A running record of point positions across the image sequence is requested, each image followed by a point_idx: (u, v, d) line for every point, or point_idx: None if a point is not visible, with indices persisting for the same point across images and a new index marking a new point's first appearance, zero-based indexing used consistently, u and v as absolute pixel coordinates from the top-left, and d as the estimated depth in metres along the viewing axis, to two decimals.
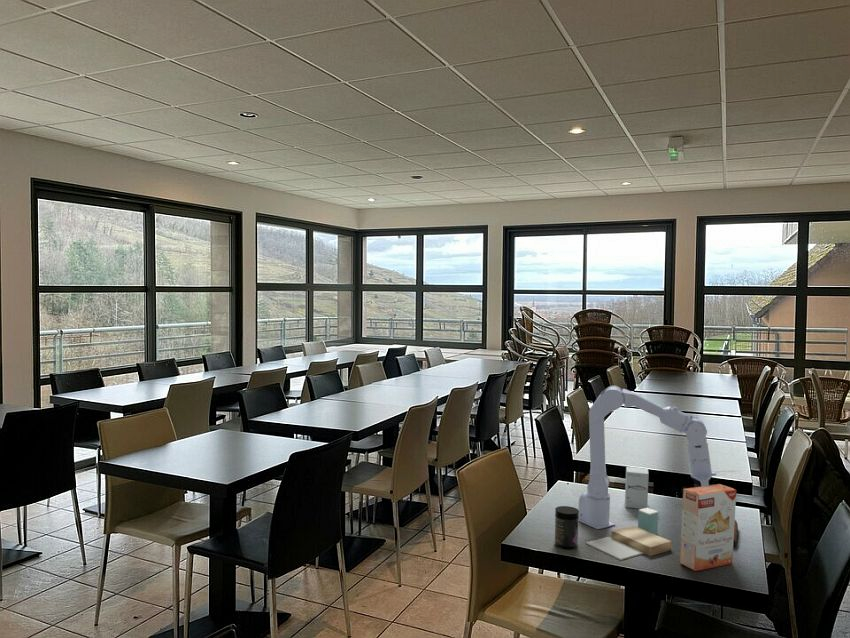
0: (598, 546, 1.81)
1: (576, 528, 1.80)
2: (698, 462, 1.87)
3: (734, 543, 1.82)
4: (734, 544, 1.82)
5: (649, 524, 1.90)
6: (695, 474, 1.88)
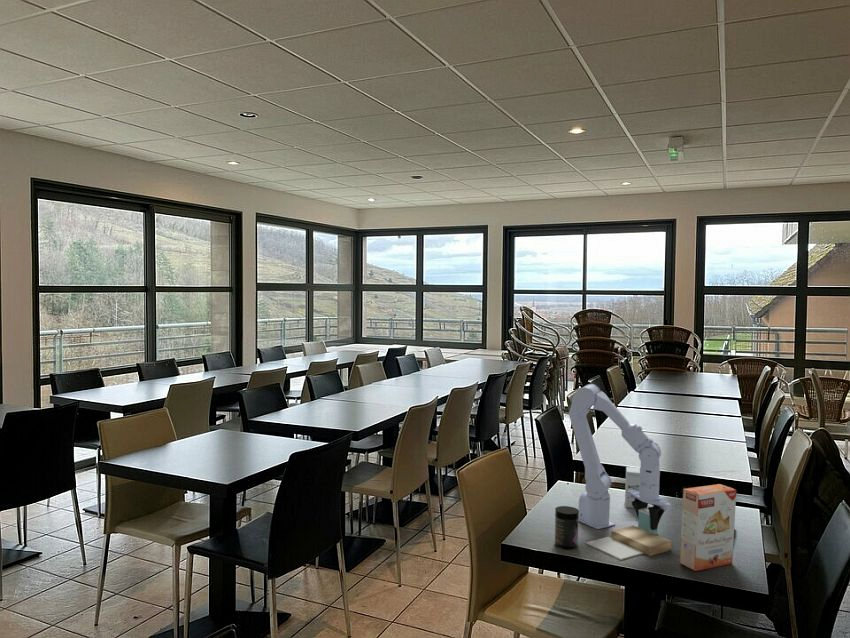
0: (598, 546, 1.81)
1: (576, 528, 1.80)
2: (655, 487, 1.89)
3: None
4: None
5: (649, 524, 1.90)
6: (650, 499, 1.89)
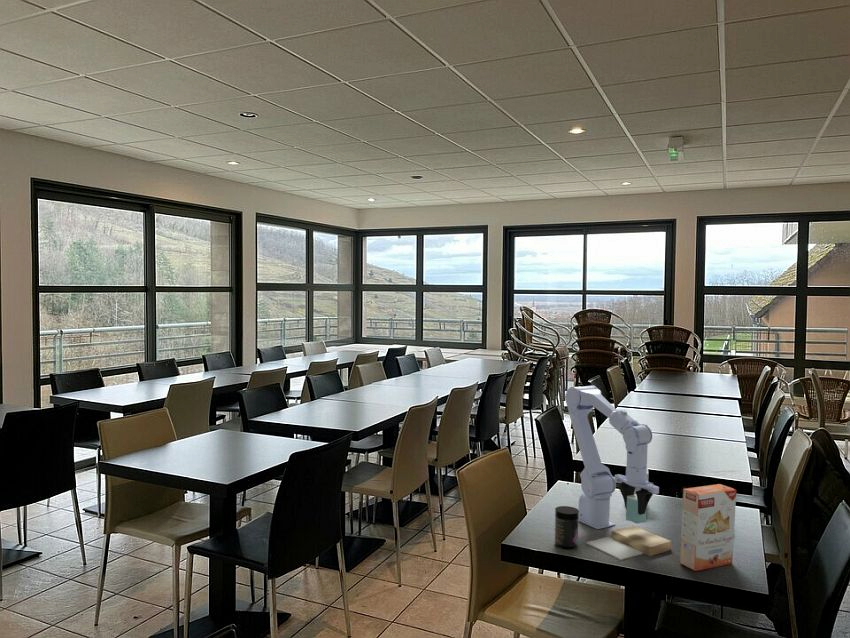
0: (598, 546, 1.81)
1: (576, 528, 1.80)
2: (642, 470, 1.82)
3: None
4: None
5: (637, 510, 1.83)
6: (638, 482, 1.82)
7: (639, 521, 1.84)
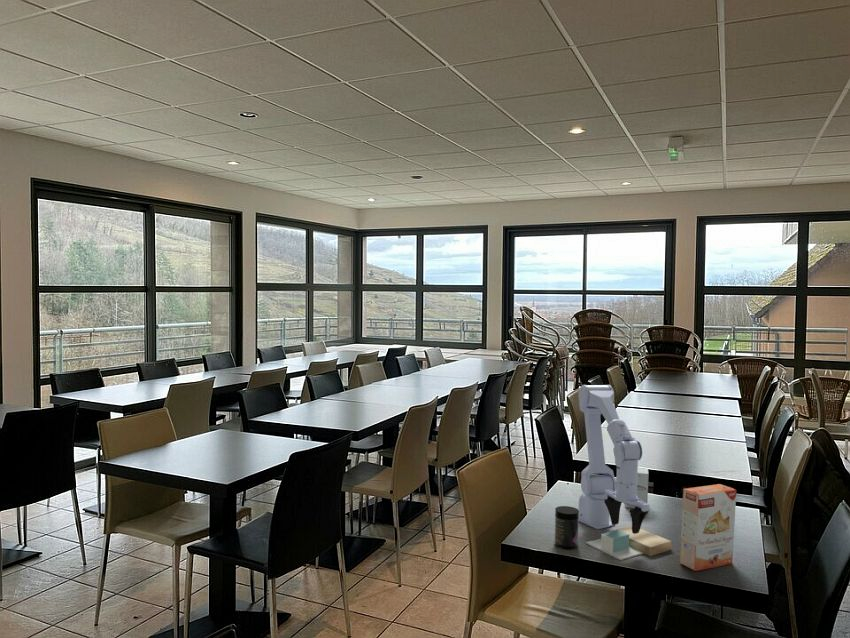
0: (598, 546, 1.81)
1: (576, 528, 1.80)
2: (632, 486, 1.78)
3: None
4: None
5: (619, 550, 1.78)
6: (627, 499, 1.78)
7: (627, 544, 1.80)
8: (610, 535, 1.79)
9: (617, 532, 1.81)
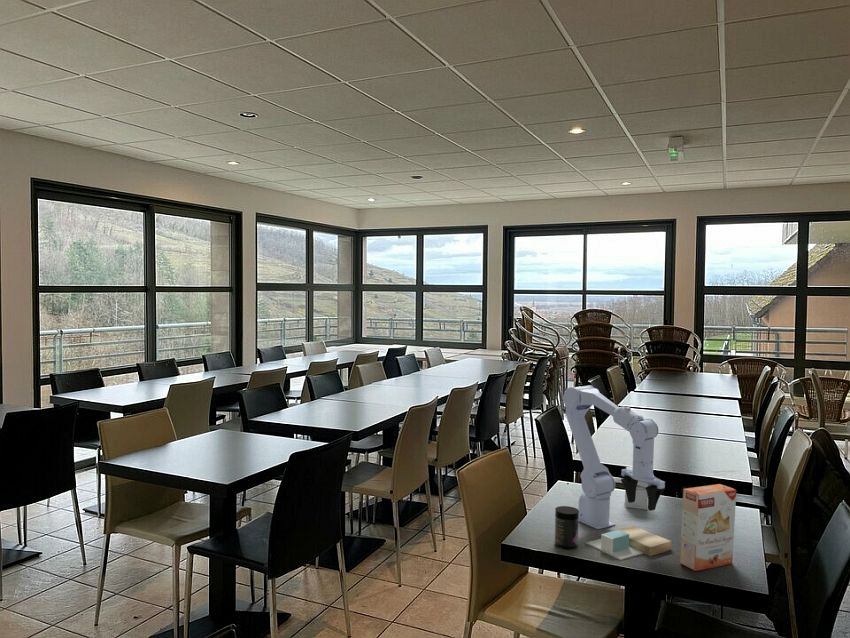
0: (598, 546, 1.81)
1: (576, 528, 1.80)
2: (649, 464, 1.83)
3: None
4: None
5: (619, 550, 1.78)
6: (644, 477, 1.83)
7: (627, 544, 1.80)
8: (610, 535, 1.79)
9: (617, 532, 1.81)
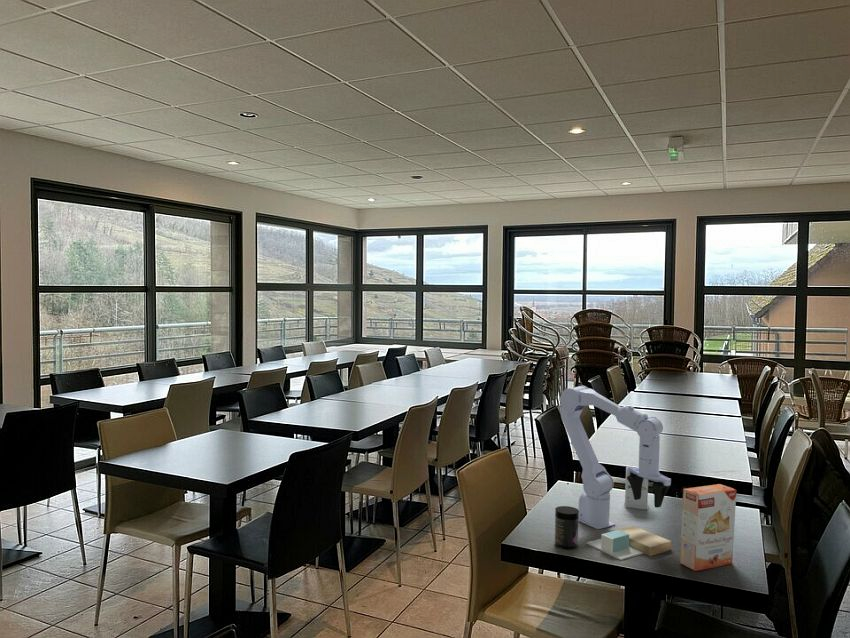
0: (598, 546, 1.81)
1: (576, 528, 1.80)
2: (655, 462, 1.86)
3: None
4: None
5: (619, 550, 1.78)
6: (650, 474, 1.86)
7: (627, 544, 1.80)
8: (610, 535, 1.79)
9: (617, 532, 1.81)
